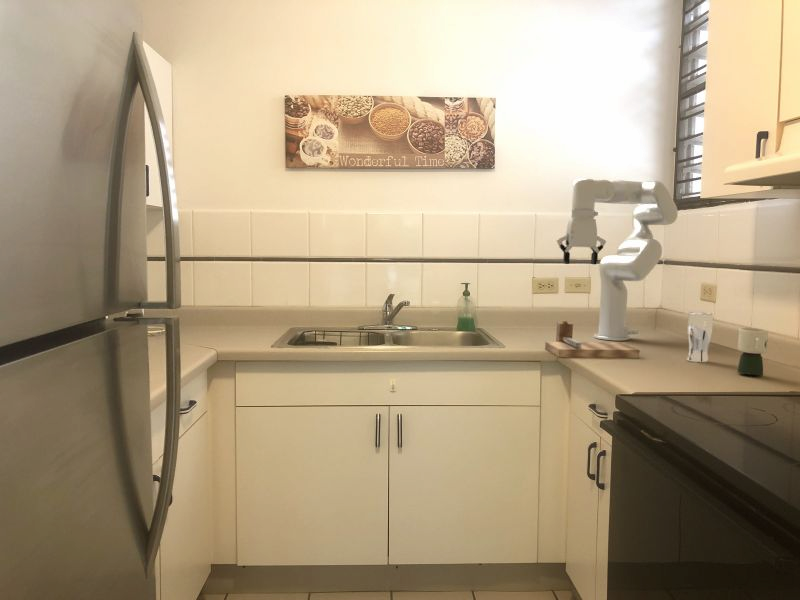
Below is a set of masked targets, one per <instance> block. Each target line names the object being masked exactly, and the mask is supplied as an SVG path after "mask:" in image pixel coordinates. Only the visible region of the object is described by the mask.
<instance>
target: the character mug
mask: <svg viewBox="0 0 800 600" xmlns="http://www.w3.org/2000/svg"><path fill="white" fill-rule="evenodd" d="M738 329H739V330H738V341H737V350H738V351H739V352H742V353H741V355H740V358H739V360H738V361H739V362H738V367H737V373H739V374H743V375H744V374H747V375H750V376H751V377H753V376H754V375H755V376H763V375H764V364H763V363H764V361H763V357H762V354H765V353H767V350H768V339H769V329H768V330H767V329H764V328H758V327H757V328H755V327H739V328H738Z"/></svg>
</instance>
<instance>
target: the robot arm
mask: <svg viewBox="0 0 800 600" xmlns="http://www.w3.org/2000/svg"><path fill="white" fill-rule="evenodd" d="M571 202H572V203H571V217H570V218H569V219H568V221H567V225H566V232H565V235H563V236H561V237H559V238H558V239H556V243H557V245H558V248H559V249H561V251H562V252H563V257H562V259H563V262H564V264H565V265H569V264H570V261H571V260H570V256H571V252H570V250H571V249H572V248H589V249H590V250H591V251H592V253H591V255H590V256H591V257H590V265H597V262H598V258H599V257H598V255H599V253H600V251H602V250H603V248H604V246H605V245H606V243H607V240H605V238H602V237H600V236H598V227H597V221H596V219H595V217H596V216H598V215H599V212H598V211H596V210H595V205H596V204H595V203H598V204H599V203H602V204H603V203H605V204H610V205H611V204H612V205H614V204H619V205H636V206H634V208H633V211H632V215H631V220H632V221H631V223H632V224H631V225H632V226H631V227H632V230H631V232H630V233H629V235H627V237H625V239H624V240H623V241H622V242H621V244H620V245H619V246H618V247H617V249H616V254H615V253H614V254H607V255H605V256H603V257H602V258H601V259H600V262H599V265H598V267H599V268H598V269H599V276H600V301H599V302H600V303H599V316H598V317H599V319H598V332H596V333H594V334H593V337H594V338H595V339H599V340H605V341H612V342H613V341H614V342H615V341H616V342H617V341H618V342H620V341H622V342H623V341H629V340H630V336H629V335H638V334H639V330H638V328H633V329H632V328H629V327H628V326H627V310H628V309H627V308H628V306H627V305H628V289H627V286H626V285H625V282H641V281H643V280H644V279H646V277H647V276H649V274H650V273H651V272H652V270H654V268H655V267H656V266H657V265H658V263H659V262H660V259H661V257H662V255H663V254H662V253H663V248H662V244H661V243H660V242H659V241H658V239H654V236H653V233H652V230H650V228H649V226H668V225H672V224H673V223H675V222H676V220H677V219H678V214H679V213H678V207H677V205H676V203H675V201H674V199H673V197H672V195H671V193H670V191H669V190H668V188H667V187H666V185H665V184H664V183H662V182H661V181H659V180H649V181H648V180H647V181H633V180H622V179H621V180H609V179H592V178H577V179H575V180H574V181H573V184H572V201H571ZM564 241H565V242H564ZM563 242H564V243H563ZM598 242H599V244H598V246H597V243H598ZM564 244H565V245H564Z"/></svg>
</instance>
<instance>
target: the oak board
mask: <svg viewBox="0 0 800 600" xmlns="http://www.w3.org/2000/svg"><path fill="white" fill-rule="evenodd" d="M579 342H580V343H582V346H581V347H574V346H572V345H570V344H568V343H566V342H556V341H545V344H544V349H545V350H546V351H547V352H549V353H551V354H553V355H554V356H556V357H558V358H605V359H606V358H608V359H609V358H610V359H611V358H612V359H613V358H615V359H617V358H624V359H625V358H627V359H628V358H629V359H639V358H640V349H638V348H636V347H633V346H630V345H628V344H625V343H623V342H619V341H618V342H617V341H616V342H615V341H614V342H613V341H609V342H607V341H606V342H604V341H603V342H602V341H599V342H598V341H590V342H589V341H579Z"/></svg>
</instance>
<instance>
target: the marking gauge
mask: <svg viewBox="0 0 800 600" xmlns="http://www.w3.org/2000/svg"><path fill="white" fill-rule="evenodd" d="M573 329H574V324H573V323H571V322H568V320H565V319H562V322H556V334H555V335H556V336H555V342H566V343H568V344H570V345H572V346H574V347H581V346H582V343H580V342H581V341H578V340H576V339H574V338H573V331H574V330H573Z"/></svg>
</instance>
